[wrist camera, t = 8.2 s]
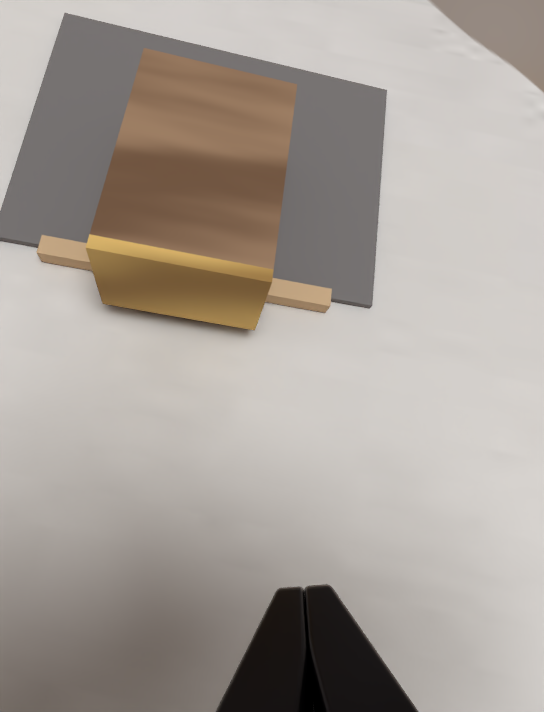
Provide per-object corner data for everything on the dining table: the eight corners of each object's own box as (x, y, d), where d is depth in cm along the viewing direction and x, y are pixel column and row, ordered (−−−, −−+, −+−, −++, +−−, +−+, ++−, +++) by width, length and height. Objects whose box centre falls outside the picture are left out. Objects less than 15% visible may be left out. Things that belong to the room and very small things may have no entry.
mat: (368, 320, 22) (375, 314, 22) (-10, 252, 20) (-17, 243, 20) (384, 94, 26) (390, 82, 25) (66, 18, 24) (62, 2, 23)
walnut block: (272, 282, 17) (297, 84, 20) (85, 247, 16) (143, 47, 19) (254, 330, 20) (278, 156, 24) (102, 303, 20) (149, 127, 23)
